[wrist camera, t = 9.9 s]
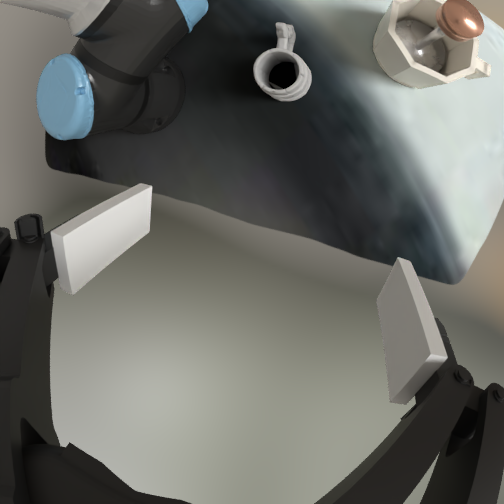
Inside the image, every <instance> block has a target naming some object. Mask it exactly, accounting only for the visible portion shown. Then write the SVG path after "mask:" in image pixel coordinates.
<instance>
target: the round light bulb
mask: <svg viewBox="0 0 504 504" xmlns="http://www.w3.org/2000/svg"><path fill="white" fill-rule="evenodd" d="M436 21H437V24H438V26H439V27H438V28H436V29H435V30H432V29H431V28H430V27H429V26H427V25H426V24H424V23H421V22H419V21H415V20H403V21H400V22H397V23H396V27H395V32H396V34H397V35H398V37H399V38H400V40H401V41H402V43H403V44H404V46H405V47H406V49H407V50H408V52H409V54H410V55H411V57H412V58H413V60H414V62H416V63H418V64H421V65H423V66H425V67H427V68H429V69H431V70H434V71H436V72H438V71H439V70H440V69H441V68H442V66H443V65H444V62H445V49H444V45H443V43H442V41H441V39H440V38H441V37H443V36H445V35H447V36H448V37H449V38H451V39H453V40H455V41H458V42H465V41H467V40H470V39H472V38H475V37H477V36H479V35H481V34H482V32H483V30H484V22H483V19H482V17H481V15H480V13H479V12H478V10H477V9H476V8H475V7H474V6H473V5H472V4H471V3H470V2H468V1H467V0H447V1H446V2H445V3H444V4H442V5H441V6H440V7H439V8H438V9H437V11H436Z"/></svg>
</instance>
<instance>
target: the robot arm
mask: <svg viewBox="0 0 504 504" xmlns="http://www.w3.org/2000/svg"><path fill="white" fill-rule="evenodd" d="M0 3H4V4H9V5H14V6H18V7H22V8H27V9H31V10H35V11H39V12H42V13H46V14H49V15H53V16H56V17H59V18H63V19H66V20H67V22H68V25H69V28H70V32H71V34H72V35H73V36H76V37H79V38H80V39H79V41H78V42H77V44H76V45H75V47H74V48H73V50H72V51H71V53H70V54H61V55H60V56H57V57H56V58H54V59H52V60H50V61H49V62H48V63H47V65H46V66H45V68H44V69H43V71H42V73H41V76H40V78H39V82H38V86H37V95H36V100H37V110H38V115H39V118H40V121H41V123H42V125H43V126H44V128H45V130H46V131H47V132H48V133H49V134H50V135H51V136H53V137H54V138H56V139H60V140H68V139H74V138H75V139H81V138H84V137H86V136H90V135H94V134H98V133H103V132H107V131H112V130H116V129H123V130H126V131H129V132H132V133H136V134H147V133H152V132H156V131H159V130H161V129H163V128H165V127H166V126H168V125H169V124H170V123H171V122H172V121H173V120H174V119H175V118H176V116H177V115H178V113H179V111H180V109H181V107H182V104H183V101H184V96H185V83H184V78H183V75H182V73H181V71H180V69H179V68H178V66H177V65H176V64H175V63H174V62H172V61H171V60H169V59H168V58H165V56H166V55H167V54H168V53H169V52H170V51H171V49H172V48H173V47H174V46H175V45H176V44H177V43H178V42H179V41H180V40H181V39H182V38H183V37H184V36H185V35H186V34H187V32H188V33H190V32H191V31H192V27H193V26H194V25H195V24H196V23H197V22H198V21H199V20H200V19H201V18H202V17H203V16H204V15H205V14H206V12H207V10H208V2H207V0H0ZM151 195H152V186H150V185H146V184H142V183H140V184H138V185H136V186H134V187H132V188H130V189H128V190H126V191H124V192H122V193H120V194H118V195H116V196H114V197H112V198H110V199H108V200H106V201H104V202H102V203H100V204H98V205H97V206H95V207H93V208H91V209H89V210H88V211H85V212H84V213H82V214H79V215H76V216H74V217H73V218H71V219H69V221H66V222H64V223H63V224H60V225H59V226H57V227H55V228H54V229H52V230H50V231H49V232H47V233H46V234H44V229H43V222H42V216H40V215H39V214H27V215H24V216H21V217H19V218H18V219H16V221H15V222H14V223H15V230H16V235H17V240H16V239H11V237H10V231H9V229H7V228H1V227H0V504H191V503H188V502H185V501H182V500H177V499H171V498H165V497H160V496H155V495H150V494H145V493H141V492H137V491H135V490H133V489H132V488H131V487H129V486H128V485H127V484H126V483H124V482H123V481H122V480H121V479H120V478H118V477H117V476H116V475H115V474H114V473H113V472H111V470H109V469H108V468H107V467H106V466H105V465H104V464H103V463H102V462H100V461H98V460H97V459H95V458H93V457H92V456H90V455H88V454H87V453H85V452H84V451H82V450H80V449H79V448H77V447H76V446H74V445H73V444H71V443H69V444H68V445H67V447H62V446H60V443H59V440H58V437H57V434H56V432H55V430H54V426H53V420H52V409H51V394H50V334H51V317H52V306H53V297H54V284H53V281H55V280H56V279H57V278H59V283H60V288H61V289H62V290H64V291H65V292H67V293H69V294H71V295H74V294H75V293H76V292H77V291H78V290H79V289H80V288H82V287H83V286H84V285H85V284H86V283H87V282H88V281H90V280H91V279H92V278H93V277H94V276H95V275H97V274H98V273H99V272H100V271H101V270H103V269H104V268H105V267H106V266H107V265H108V264H110V263H111V262H112V261H113V260H114V259H116V258H117V257H118V256H119V255H121V254H122V253H123V252H124V251H126V250H127V249H128V248H129V247H131V246H132V245H133V244H135V243H136V242H137V241H138V240H140V239H141V238H142V237H143V236H144V235H146V234H147V233H148V232H150V212H151V197H152V196H151ZM377 307H378V313H379V319H380V325H381V331H382V337H383V345H384V352H385V360H386V367H387V377H388V387H389V399H390V402H392V403H398V404H407V403H408V402H409V401H410V400H411V399H412V398H413V397H414V396H415V399H416V404H415V405H414V406H413V407H412V408H411V409H410V410H409V411H408V412H407V413H406V414H405V415H404V416H403V417H402V418H401V421H400V423H399V424H398V425H397V426H396V427H395V428H394V429H393V431H392V432H391V433H390V434H389V435H388V436H387V437H386V438H385V439H384V441H383V442H382V443H381V444H380V445H379V446H378V447H377V448H376V449H375V450H374V451H373V452H372V453H371V454H370V455H369V456H368V457H367V458H366V459H365V460H364V461H363V462H362V463H361V464H360V465H359V466H358V467H357V468H356V469H355V470H354V471H352V472H351V474H349V475H348V476H347V477H346V478H345V479H344V480H342V481H341V482H340V483H339V484H338V485H337V486H335V487H334V488H333V489H332V490H331V491H330V492H328V493H327V494H326V495H325V496H323V497H322V498H321V499H320V500H318V501H317V502H316V503H314V504H403V503H404V501H405V500H406V499H407V498H408V496H409V495H410V494H411V493H412V491H413V490H414V488H415V487H416V486H417V484H418V483H419V482H420V480H421V479H422V478H423V476H424V475H425V473H426V472H427V470H428V469H429V468H430V466H431V465H432V463H433V462H434V460H435V458H436V457H437V455H438V454H439V456H438V459H437V462H436V465H435V467H434V470H433V473H432V476H431V478H430V481H429V483H428V486H427V489H426V491H425V493H424V495H423V498H422V500H421V502H420V504H496V503H497V499H498V495H499V490H500V485H501V481H502V475H503V469H504V388H503V387H501V386H500V385H499V384H497V383H491V384H490V385H489V386H488V387H487V388H486V389H485V390H482V389H480V388H478V387H476V386H474V381H473V377H472V376H471V374H470V373H469V371H468V370H467V369H466V368H464V367H463V366H461V365H458V364H457V362H456V358H455V355H454V352H453V350H452V347H451V344H450V341H449V338H448V337H447V333H446V330H445V328H444V326H443V325H442V323H441V322H440V321H439V319H438V318H434V316H433V314H432V311H431V309H430V306H429V304H428V301H427V299H426V296H425V294H424V291H423V289H422V287H421V284H420V282H419V280H418V277H417V275H416V273H415V271H414V268H413V266H412V264H411V262H410V261H408V260H405V259H402V258H399V257H398V258H397V260H396V262H395V264H394V266H393V268H392V271H391V272H390V274H389V277H388V279H387V281H386V283H385V285H384V287H383V289H382V291H381V292H380V294H379V296H378V298H377ZM439 452H440V453H439Z"/></svg>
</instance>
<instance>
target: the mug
mask: <svg viewBox="0 0 504 504" xmlns="http://www.w3.org/2000/svg"><path fill="white" fill-rule="evenodd" d="M276 28H277V32H276V33H277V37H278V41H277V48H273V49H270V50H267V51H266V52H263V53H262V54H261V55H260V56H259V57H258V58H257V59H256V61H255V63H254V67H253V72H254V77H255V80H256V82H257V84H258V85H259V86H260V88H261V89H262V90H263V91H264V92H266V93H267V94H269V95H270V96H272V97H273V98H275V99H277V100H279V101H293V100H297V99H299V98H301V97H302V96H303V95H305V94H306V93H307V91H308V90H309V87H310V85H311V79H312V77H311V71H310V69H309V68H308V66H307V65H306V64H305V62H304V61H303V60H302V59H301V58H300V57H299V56H298V55H297V54H295V53H293V52H292V51H293V46H294V42H295V31H294V27H293V26H292V25H286V24H285V23H276ZM282 62H292V63H294V67H295V72H296V77H297V80H296V81H295V83H294V84H293V85H291V86H290V87H288V88H286V89H283V88H281V87H279V86H277V85H275V84H273V83H271V82H269V74H270V71H271V70H272V68H273V67H274V66H276V65H277V64H280V63H282ZM269 83H270V84H271V85H272V86H273V87H274V88H275V89H272V88H271V86H270V84H269Z"/></svg>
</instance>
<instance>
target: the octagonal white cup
mask: <svg viewBox="0 0 504 504" xmlns="http://www.w3.org/2000/svg"><path fill="white" fill-rule="evenodd" d="M445 2H446V1H445V0H393V1H392V3H391V4H390V6H389V8H388V9H387V11H386V13H385V14H384V16H383V18H382V19H381V21H380V23H379V24H378V28H377V31H376V33H375V35H374V39H373V52H374V54H375V57H376V59H377V61H378V63H379V65H380V66H381V68H382V69H383V70H384V71H385V73H386V74H387V75H388V76H389V77H390V78H392V79H393V80H395V81H397V82H398V83H400V84H402V85H405V86H408V87H413V88H417V89H422V88H427V87H432V86H437V85H442V84H447V83H450V82H452V81H455V80H457V79H459V78H462V77H465V78H467V79H475V78H482V77H490V71H491V65H489V64H488V63H486V62H485V61H483V60H481V59H480V58H478V57H477V55H478V47H479V40H478V38H477V37H475V38H472V39H470V40H467V41H465V42H458V41H455V40H453V39H451V38H449V37H448V36H447V35H445V36H443V37H441V38H440V39H441V41H442V43H443V45H444V49H445V62H444V65H443V66H442V68H441V69H440V70H439V71H438V72H436V71H434V70H431V69H429V68H427V67H425V66H423V65H421V64H418V63H416V62H414V60H413V58H412V57H411V55H410V54H409V52H408V50H407V49H406V47H405V46H404V44H403V43H402V41H401V40H400V38H399V37H398V35H397V34H396V32H395V27H396V23H397V22H400V21H403V20H415V21H419V22H421V23H424V24H426V25H427V26H429V27H430V28H431V29H432V30H435V29H436V28H438V27H439V26H438V24H437V21H436V11H437V9H438V8H439V7H440V6H441V5H442V4H444V3H445Z"/></svg>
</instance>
